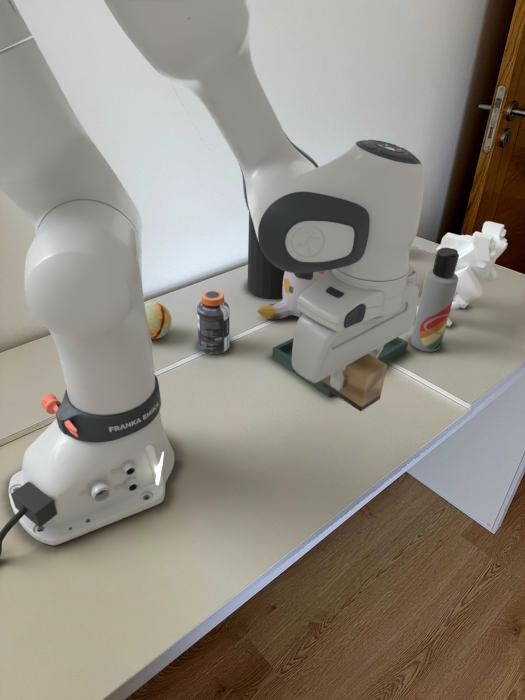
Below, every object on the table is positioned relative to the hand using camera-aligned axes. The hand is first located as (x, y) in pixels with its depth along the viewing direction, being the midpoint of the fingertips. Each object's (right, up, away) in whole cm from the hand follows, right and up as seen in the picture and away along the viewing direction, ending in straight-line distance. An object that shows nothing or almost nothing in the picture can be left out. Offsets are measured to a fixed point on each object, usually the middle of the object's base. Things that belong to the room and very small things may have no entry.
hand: (351, 378), depth 72 cm
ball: (-33, +6, +34) cm, 48 cm away
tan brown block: (0, -2, +1) cm, 2 cm away
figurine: (-5, +11, +42) cm, 44 cm away
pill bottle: (-21, +4, +31) cm, 38 cm away
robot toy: (+28, +11, +45) cm, 54 cm away
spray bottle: (+20, +5, +34) cm, 40 cm away
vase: (-10, +18, +51) cm, 55 cm away
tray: (+3, +3, +30) cm, 31 cm away
